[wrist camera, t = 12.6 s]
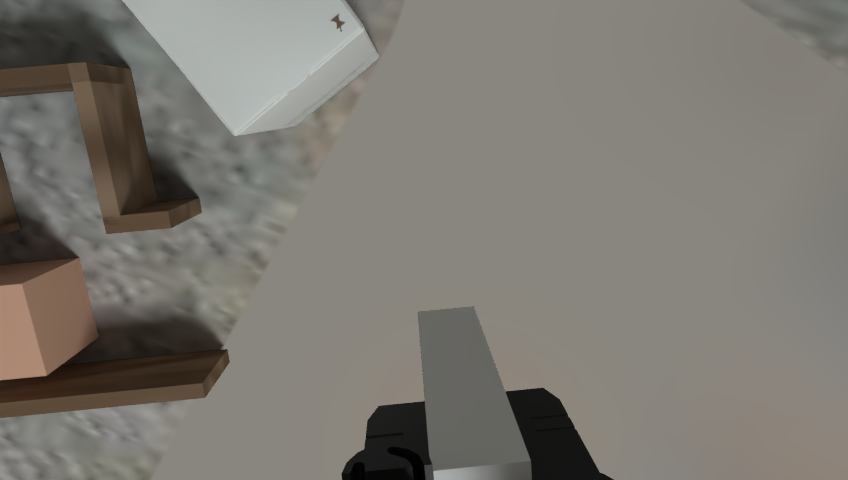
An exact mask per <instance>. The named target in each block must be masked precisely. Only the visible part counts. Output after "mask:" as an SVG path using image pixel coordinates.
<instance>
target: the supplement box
mask: <svg viewBox="0 0 848 480" xmlns="http://www.w3.org/2000/svg"><path fill="white" fill-rule="evenodd" d="M122 1H123V2H124V3H125V4H126V5H127V7H128V8H129V9H130V10H131V11H132V13H133V14H134V15H135V16H136V17H137V19H138V20H139V21H140V22H141V23H142V24H143V26H144V27H145V28H146V29H147V31H148V32H149V33H150V34H151V35H152V36H153V38H154V39H155V40H156V41H157V42H158V43H159V44H160V46H161V47H162V48H163V49H164V50H165V52H166V53H167V54H168V55H169V56H170V58H171V59H172V60H173V61H174V62H175V64H176V65H177V66H178V67H179V68H180V70H181V71H182V72H183V73H184V75H185V76H186V77H187V78H188V80H189V81H190V82H191V83H192V85H193V86H194V87H195V89H196V90H197V91H198V92H199V93H200V95H201V96H202V97H203V98H204V100H205V101H206V102H207V103H208V105H209V106H210V107H211V108H212V110H213V111H214V112H215V113H216V115H217V116H218V117H219V118H220V120H221V121H222V122H223V123H224V124H225V126H226V127H227V128H228V129H229V131H230V132H231V133H232V134H233V135H234V136H238V135H245V134H251V133H257V132H263V131H269V130H275V129H281V128H288V127H294V126H296V125H297V124H299V123H300V122H301V121H302V120H304V119H305V118H306V117H307V116H309V115H310V114H311V113H312V112H314V111H315V110H316V109H317V108H318V107H320V106H321V105H322V104H323V103H325V102H326V101H327V100H328V99H330V98H331V97H332V96H333V95H335V94H336V93H337V92H338V91H339V90H341V89H342V88H343V87H344V86H346V85H347V84H348V83H349V82H351V81H352V80H353V79H354V78H355V77H357V76H358V75H359V74H360V73H362V72H363V71H364V70H365V69H367V68H368V67H369V66H370V65H371V64H373V63H374V62H375V61H376V60H377V59H378V58H379V55H378V53H377V51H376V49H375V47H374V45H373V43H372V42H371V40H370V38H369V36H368V34H367V32H366V30H365V28H364V26H363V24H362V23H361V21H360V20H359V18H358V17H357V15H356V14H355V12H354V11H353V9H352V8H351V7H350V5H349V4H348V2H347V1H346V0H122Z"/></svg>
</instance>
